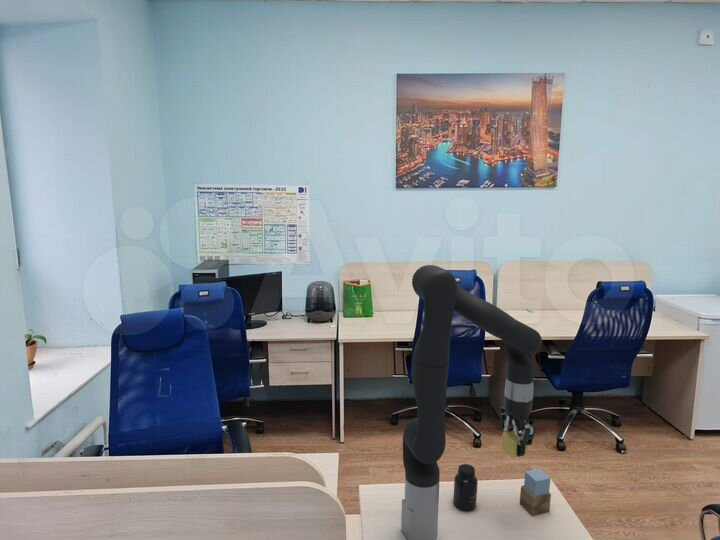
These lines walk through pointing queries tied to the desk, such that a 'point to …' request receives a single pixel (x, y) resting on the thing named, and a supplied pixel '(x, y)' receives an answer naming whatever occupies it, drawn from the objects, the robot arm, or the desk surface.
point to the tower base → (534, 502)
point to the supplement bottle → (465, 488)
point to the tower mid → (537, 482)
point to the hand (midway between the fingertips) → (514, 450)
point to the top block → (511, 444)
